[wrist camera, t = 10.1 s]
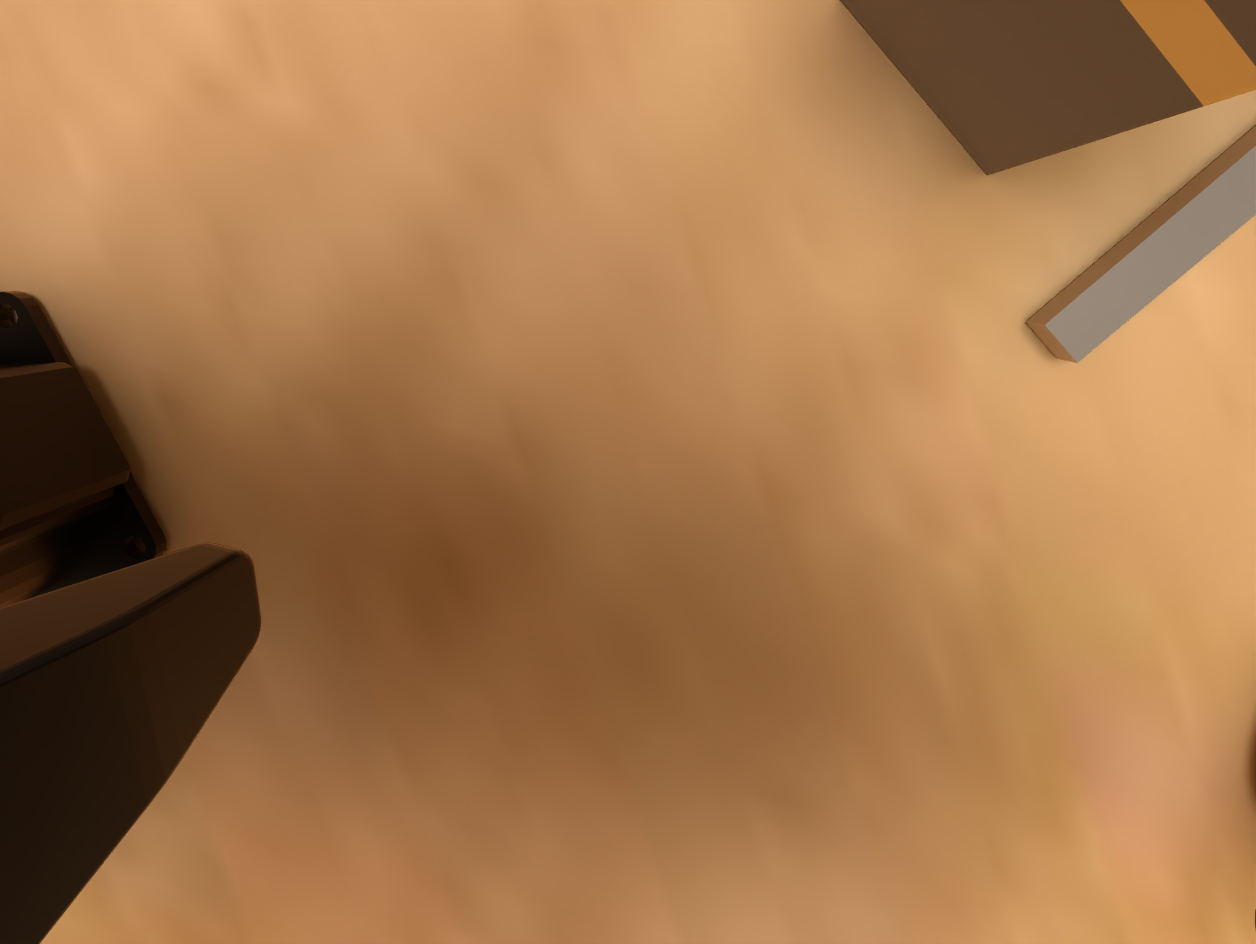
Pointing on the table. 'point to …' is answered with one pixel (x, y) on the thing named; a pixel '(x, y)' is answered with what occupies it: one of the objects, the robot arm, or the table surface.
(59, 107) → the table surface
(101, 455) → the robot arm
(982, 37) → the grey tall block
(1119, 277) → the rails
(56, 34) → the table surface
